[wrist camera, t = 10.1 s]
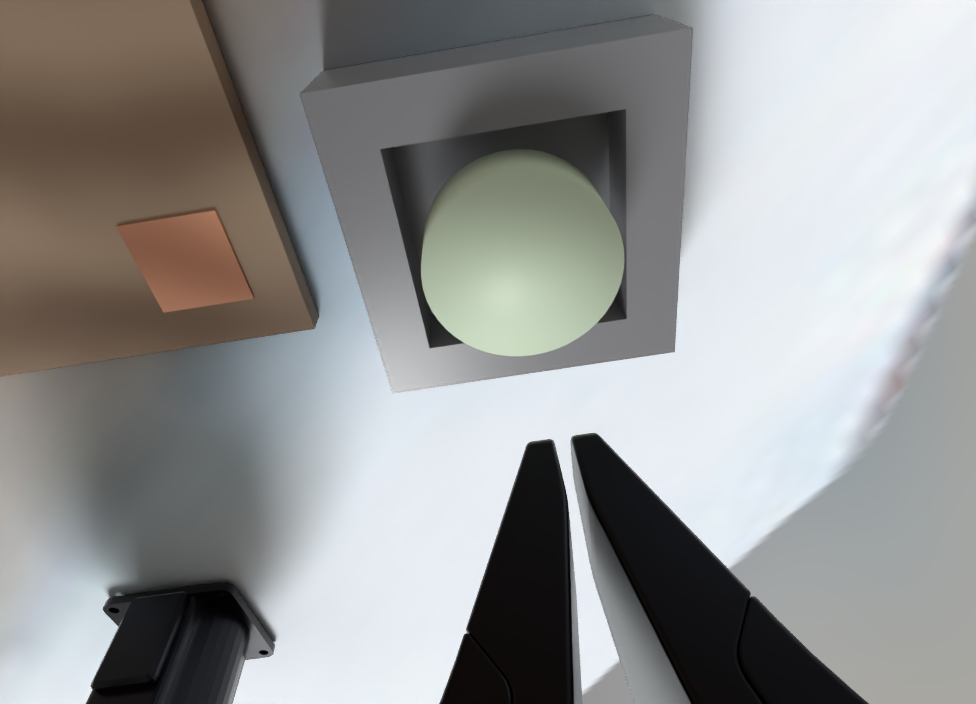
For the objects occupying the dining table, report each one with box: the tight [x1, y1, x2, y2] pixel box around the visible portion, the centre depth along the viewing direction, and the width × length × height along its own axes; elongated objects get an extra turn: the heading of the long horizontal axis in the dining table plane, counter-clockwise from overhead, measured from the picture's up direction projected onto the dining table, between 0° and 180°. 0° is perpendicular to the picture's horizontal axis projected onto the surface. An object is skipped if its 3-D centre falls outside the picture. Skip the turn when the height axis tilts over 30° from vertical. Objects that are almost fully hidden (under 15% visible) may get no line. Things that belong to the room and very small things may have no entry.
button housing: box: [300, 15, 693, 393], centre depth 17 cm, size 9×9×3 cm
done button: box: [421, 149, 624, 356], centre depth 15 cm, size 5×5×2 cm
